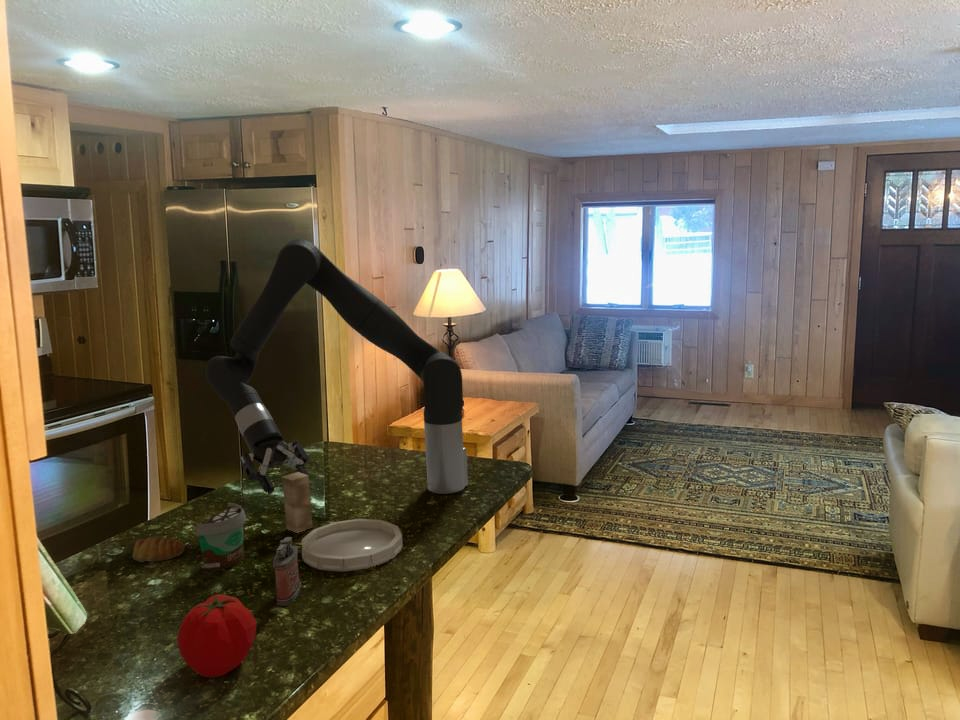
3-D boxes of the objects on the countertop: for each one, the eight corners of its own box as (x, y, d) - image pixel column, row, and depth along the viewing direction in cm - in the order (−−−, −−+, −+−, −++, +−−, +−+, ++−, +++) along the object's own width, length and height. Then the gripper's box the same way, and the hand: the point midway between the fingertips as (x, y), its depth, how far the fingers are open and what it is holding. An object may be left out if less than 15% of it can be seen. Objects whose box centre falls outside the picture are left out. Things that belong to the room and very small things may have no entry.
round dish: (362, 522, 168) (362, 511, 168) (422, 546, 154) (421, 534, 154) (282, 552, 154) (281, 540, 154) (340, 581, 140) (339, 568, 140)
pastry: (188, 547, 159) (186, 530, 158) (180, 561, 153) (178, 543, 152) (141, 551, 158) (138, 534, 157) (131, 565, 151) (128, 547, 151)
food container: (230, 576, 144) (224, 526, 142) (200, 574, 145) (195, 525, 144) (261, 549, 156) (256, 502, 154) (233, 548, 157) (228, 501, 156)
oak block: (302, 523, 169) (298, 471, 167) (312, 528, 166) (308, 475, 164) (286, 529, 166) (282, 476, 164) (296, 534, 163) (292, 480, 161)
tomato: (172, 695, 108) (164, 628, 106) (190, 647, 120) (183, 586, 118) (254, 684, 109) (247, 618, 108) (263, 638, 122) (258, 578, 120)
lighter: (285, 584, 140) (281, 532, 138) (304, 583, 140) (299, 532, 138) (272, 605, 132) (267, 551, 131) (292, 605, 132) (287, 550, 130)
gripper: (233, 424, 165) (265, 486, 159) (291, 411, 175) (322, 469, 169) (224, 444, 170) (254, 505, 164) (280, 430, 180) (311, 487, 174)
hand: (289, 486), depth 167 cm, fingers open, 8 cm apart
